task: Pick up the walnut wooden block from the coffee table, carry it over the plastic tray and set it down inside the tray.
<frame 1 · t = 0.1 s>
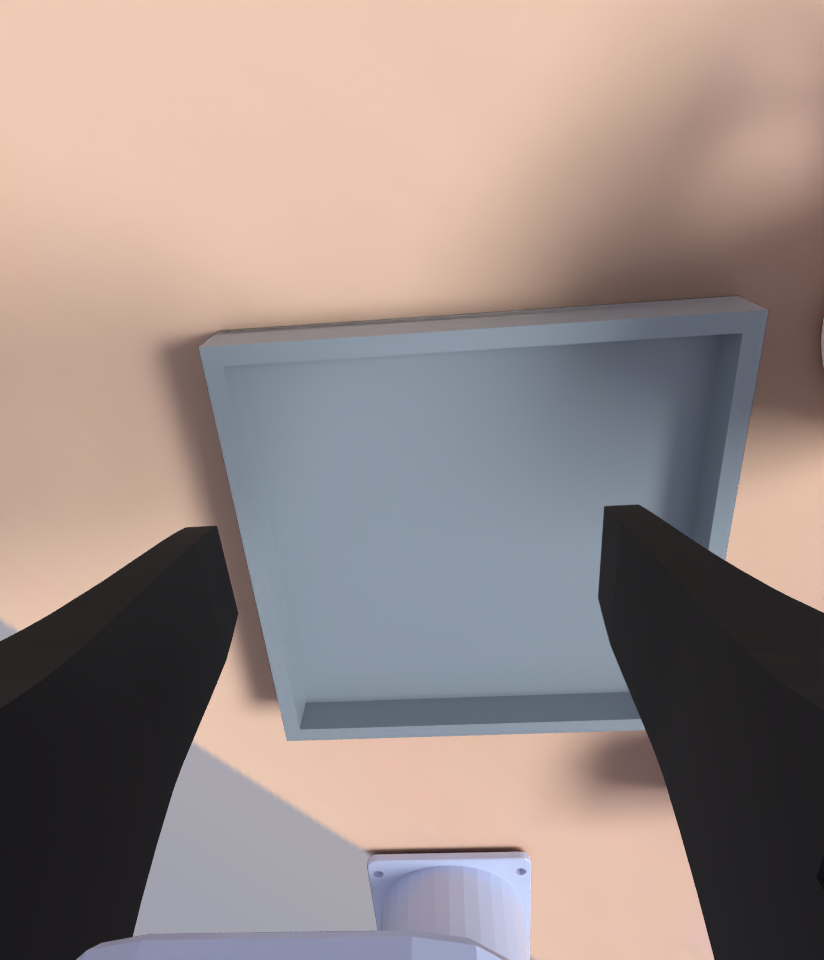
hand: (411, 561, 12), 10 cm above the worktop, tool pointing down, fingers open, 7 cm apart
tray: (479, 534, 23), on the worktop
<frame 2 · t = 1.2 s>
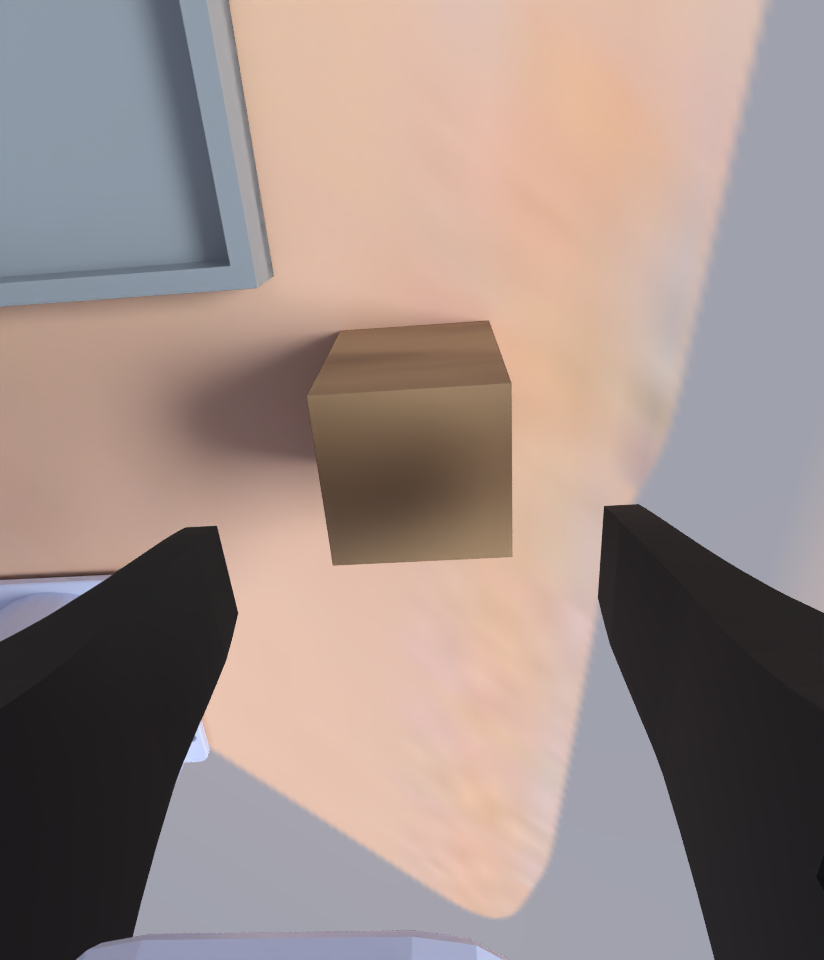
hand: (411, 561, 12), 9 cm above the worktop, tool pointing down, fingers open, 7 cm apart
block: (419, 396, 20), on the worktop
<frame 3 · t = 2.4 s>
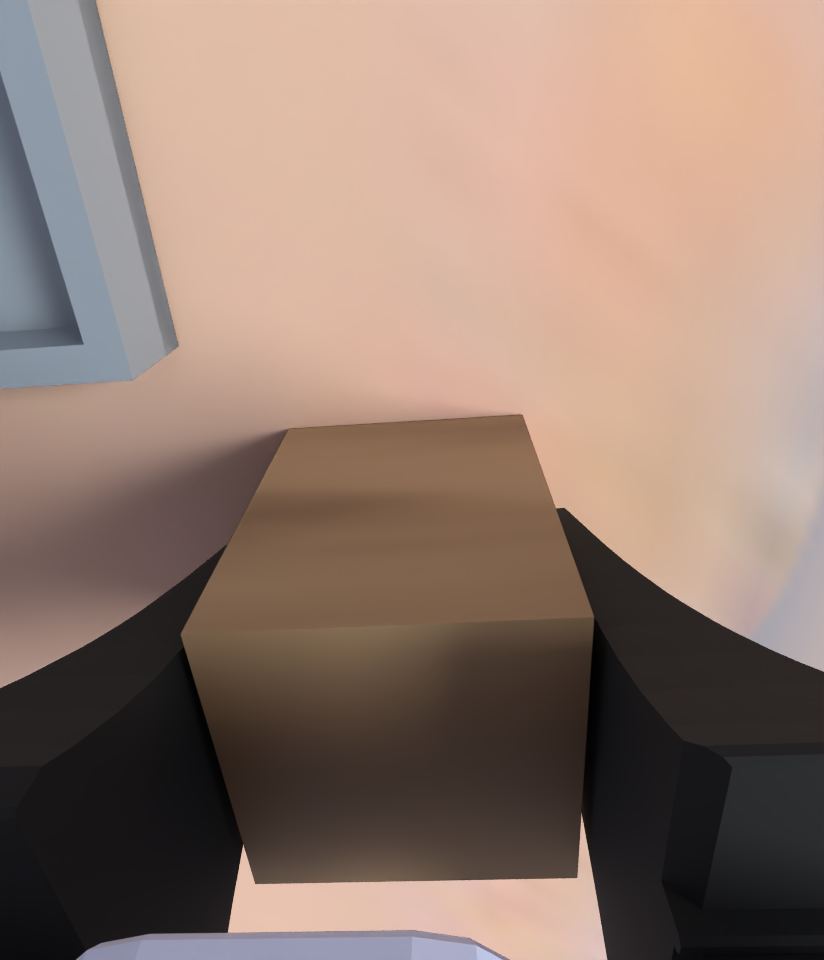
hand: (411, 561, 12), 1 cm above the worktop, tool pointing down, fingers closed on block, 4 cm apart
block: (413, 523, 13), on the worktop, touching gripper
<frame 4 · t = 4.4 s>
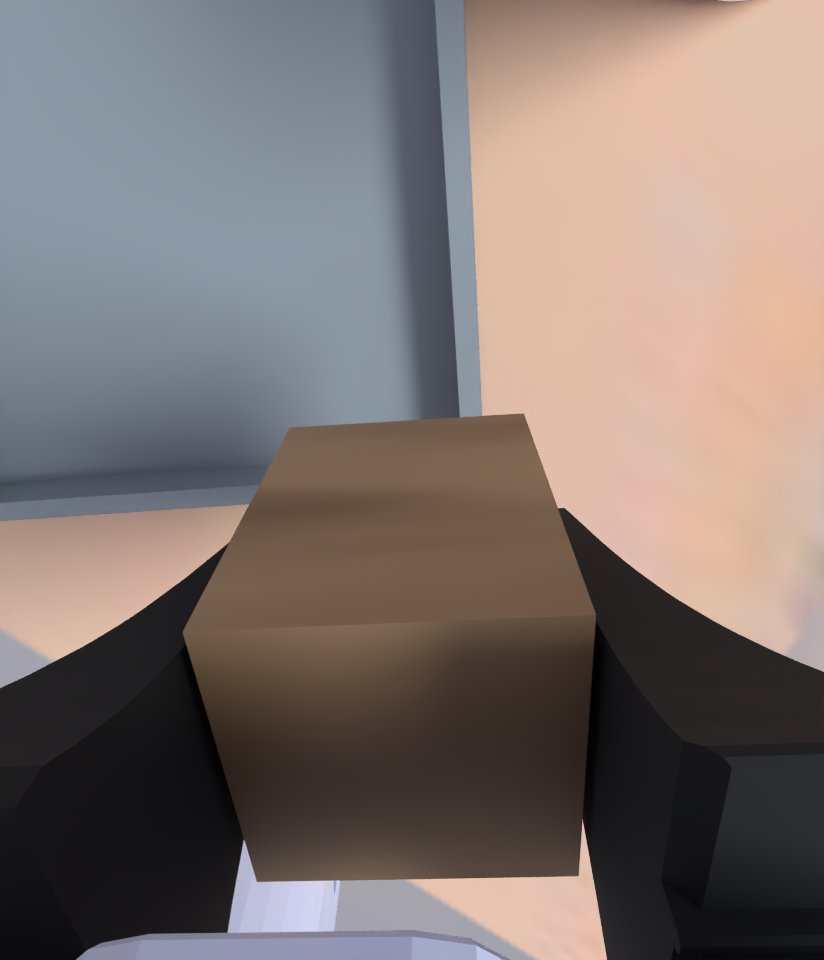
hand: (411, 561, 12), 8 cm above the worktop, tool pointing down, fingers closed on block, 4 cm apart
tray: (169, 210, 17), on the worktop
block: (414, 521, 13), point 7 cm above the worktop, touching gripper
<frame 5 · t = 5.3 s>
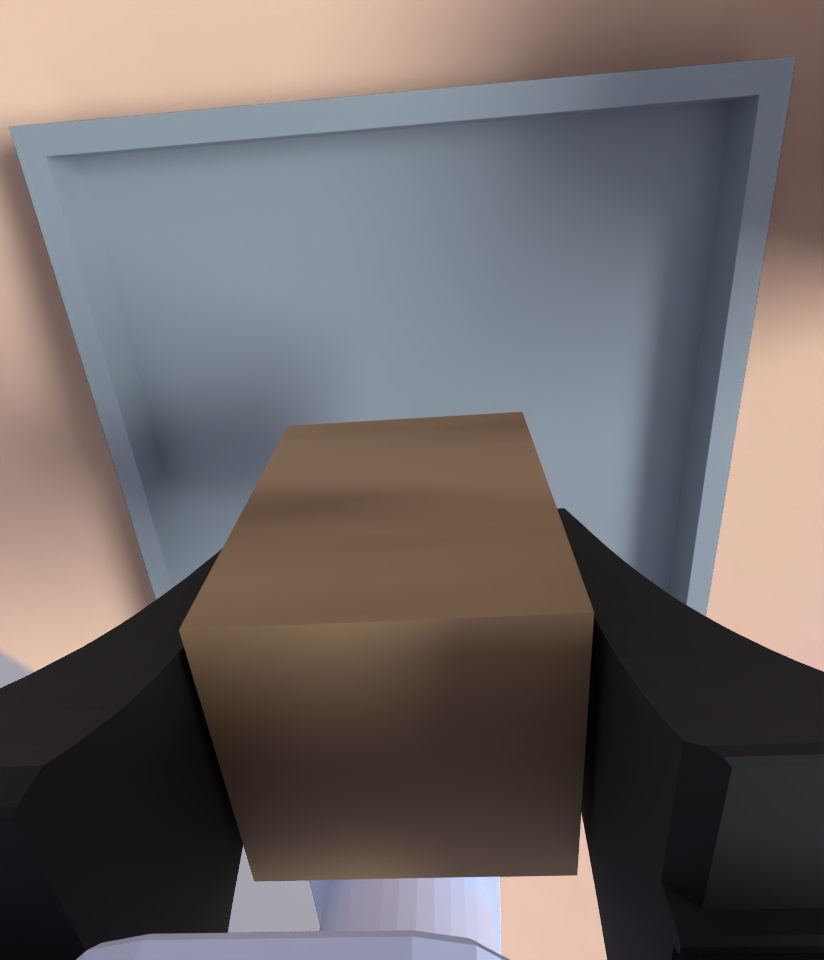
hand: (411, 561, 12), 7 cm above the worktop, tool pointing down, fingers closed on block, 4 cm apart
tray: (418, 424, 18), on the worktop
block: (412, 520, 13), point 6 cm above the worktop, touching gripper
when the fingers open (4 cm above the worktop, at t = 6.2 s): block drops 2 cm, resting on tray.
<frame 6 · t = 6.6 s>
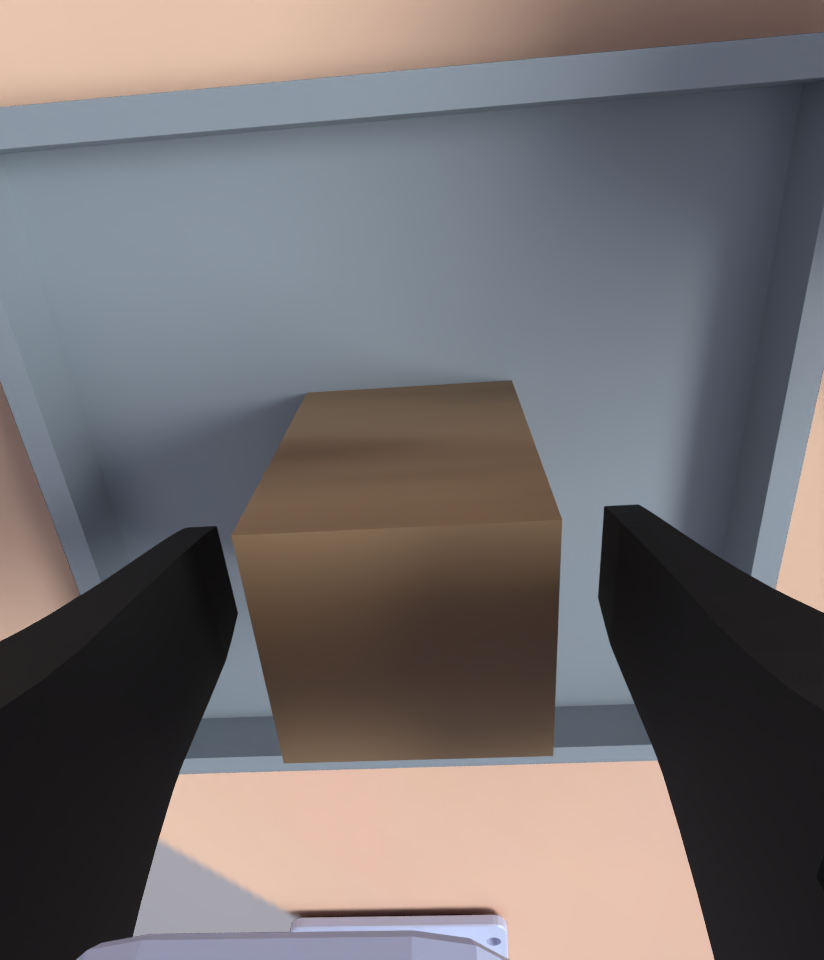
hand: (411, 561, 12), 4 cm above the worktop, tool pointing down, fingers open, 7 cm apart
tray: (415, 469, 16), on the worktop
block: (415, 478, 15), point 1 cm above the worktop, touching tray
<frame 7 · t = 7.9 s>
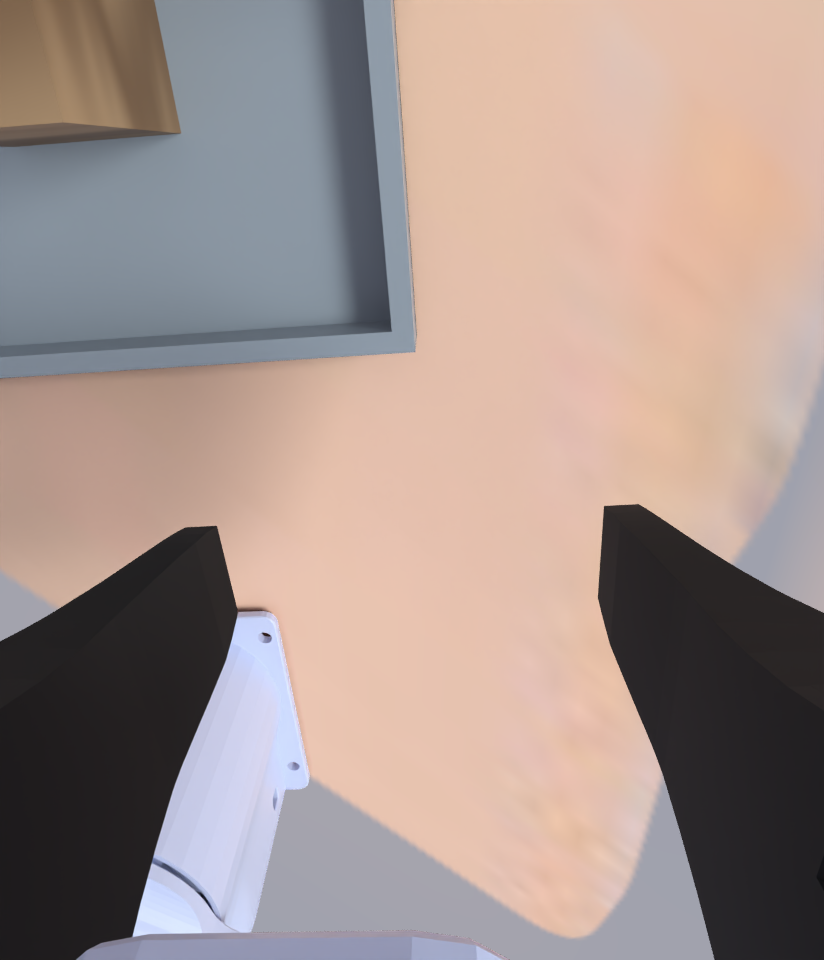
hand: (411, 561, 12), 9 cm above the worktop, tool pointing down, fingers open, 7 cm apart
tray: (83, 43, 16), on the worktop
block: (71, 37, 16), point 1 cm above the worktop, touching tray
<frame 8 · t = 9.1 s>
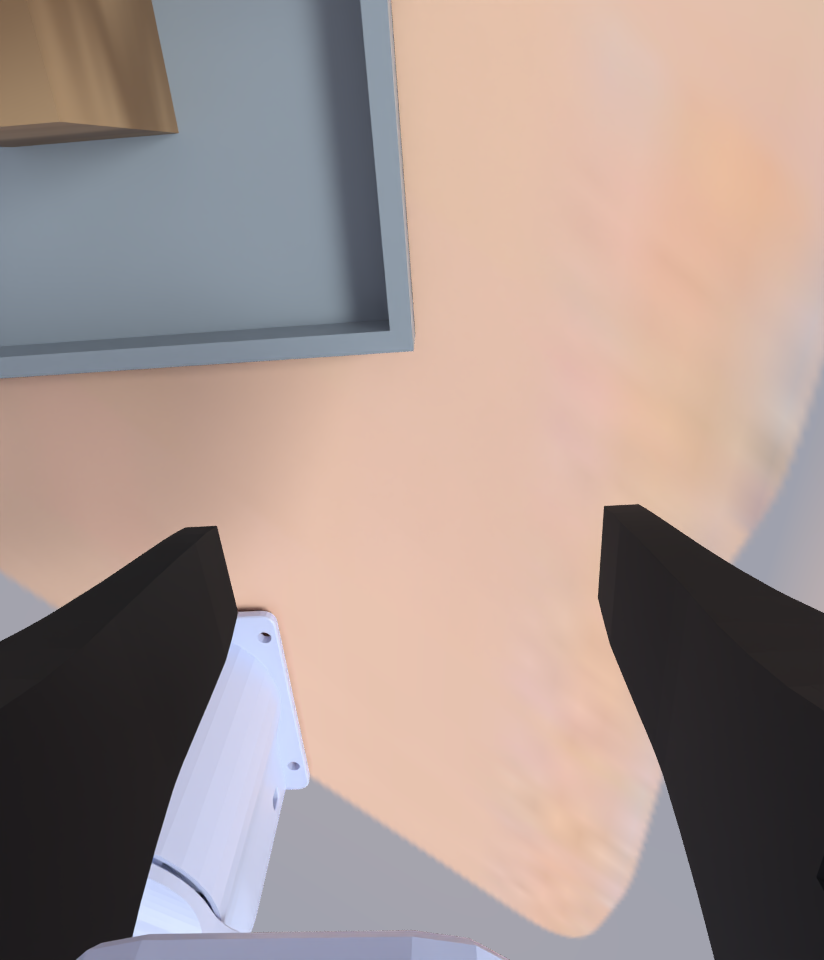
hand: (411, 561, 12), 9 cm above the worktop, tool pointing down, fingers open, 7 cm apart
tray: (80, 43, 16), on the worktop
block: (68, 37, 16), point 1 cm above the worktop, touching tray
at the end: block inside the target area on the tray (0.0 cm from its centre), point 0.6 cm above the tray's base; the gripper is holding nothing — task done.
